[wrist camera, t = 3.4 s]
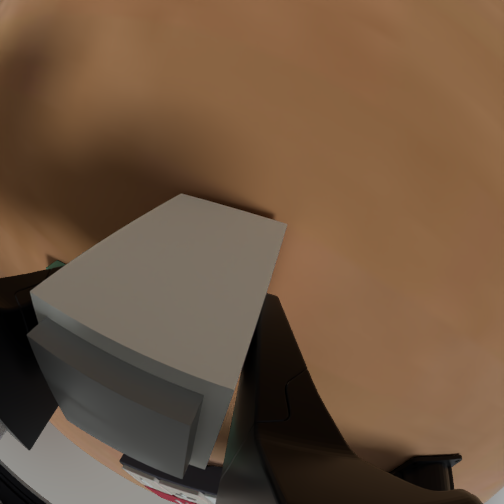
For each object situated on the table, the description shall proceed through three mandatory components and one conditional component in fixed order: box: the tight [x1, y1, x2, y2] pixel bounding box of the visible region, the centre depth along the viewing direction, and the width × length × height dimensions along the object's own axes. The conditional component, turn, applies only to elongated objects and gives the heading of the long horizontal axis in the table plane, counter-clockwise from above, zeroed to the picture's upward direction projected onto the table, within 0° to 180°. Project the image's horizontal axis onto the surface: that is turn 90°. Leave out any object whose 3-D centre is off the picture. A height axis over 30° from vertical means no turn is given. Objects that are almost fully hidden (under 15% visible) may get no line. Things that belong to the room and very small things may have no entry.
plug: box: [27, 193, 287, 479], centre depth 8 cm, size 4×5×8 cm
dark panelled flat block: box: [120, 454, 223, 504], centre depth 23 cm, size 11×4×15 cm
